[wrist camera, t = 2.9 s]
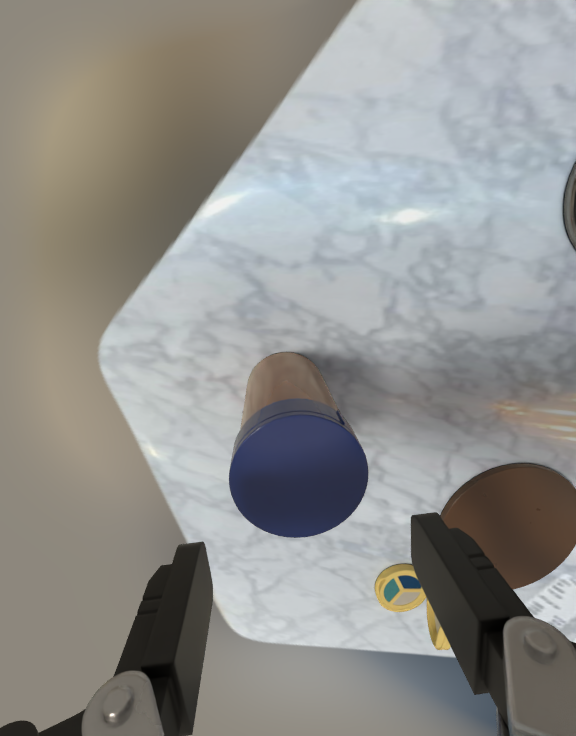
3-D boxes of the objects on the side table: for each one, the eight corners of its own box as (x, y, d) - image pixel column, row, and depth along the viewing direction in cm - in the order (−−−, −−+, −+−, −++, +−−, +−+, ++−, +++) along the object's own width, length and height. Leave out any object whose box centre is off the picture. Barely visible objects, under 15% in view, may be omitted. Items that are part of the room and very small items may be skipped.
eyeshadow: (378, 563, 30) (399, 619, 25) (436, 564, 31) (467, 619, 26) (371, 604, 31) (390, 665, 27) (427, 605, 32) (455, 664, 27)
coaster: (515, 434, 28) (520, 438, 27) (606, 515, 30) (613, 520, 30) (405, 540, 30) (408, 545, 29) (499, 606, 32) (503, 613, 32)
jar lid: (288, 370, 16) (291, 385, 14) (384, 445, 17) (398, 467, 15) (207, 466, 17) (200, 491, 15) (303, 529, 18) (307, 559, 16)
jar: (280, 336, 24) (290, 388, 14) (339, 383, 26) (387, 462, 15) (231, 395, 25) (208, 483, 15) (290, 438, 27) (305, 547, 16)
